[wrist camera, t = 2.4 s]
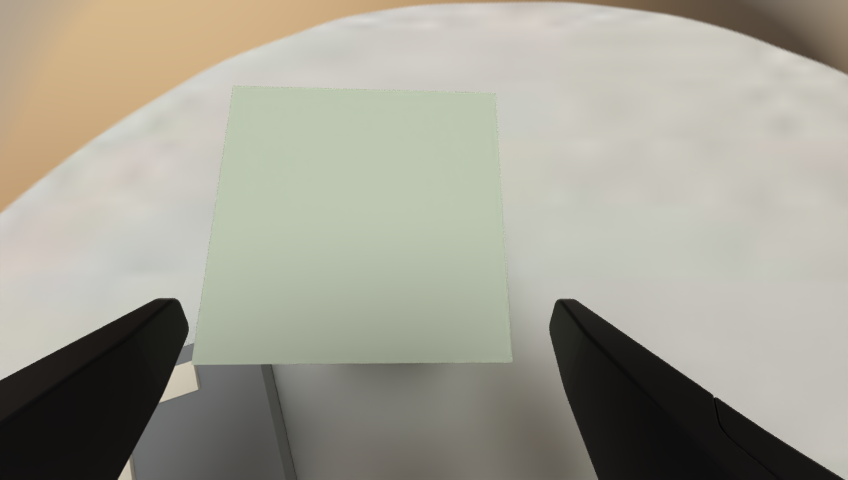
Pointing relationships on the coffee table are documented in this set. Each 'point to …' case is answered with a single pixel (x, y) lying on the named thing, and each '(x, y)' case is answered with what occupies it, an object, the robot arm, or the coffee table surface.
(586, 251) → the coffee table surface
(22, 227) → the coffee table surface
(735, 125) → the coffee table surface
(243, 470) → the board
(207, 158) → the coffee table surface
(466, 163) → the sage block
